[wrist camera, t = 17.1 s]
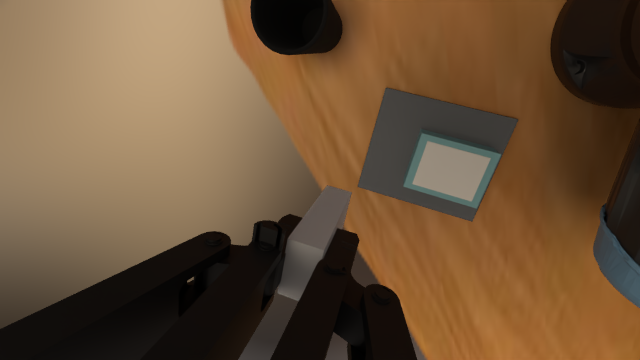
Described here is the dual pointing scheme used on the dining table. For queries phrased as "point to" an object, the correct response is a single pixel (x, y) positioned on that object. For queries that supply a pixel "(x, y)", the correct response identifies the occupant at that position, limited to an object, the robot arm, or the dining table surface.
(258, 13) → the cup
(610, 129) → the dining table surface
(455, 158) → the card box
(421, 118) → the mat
